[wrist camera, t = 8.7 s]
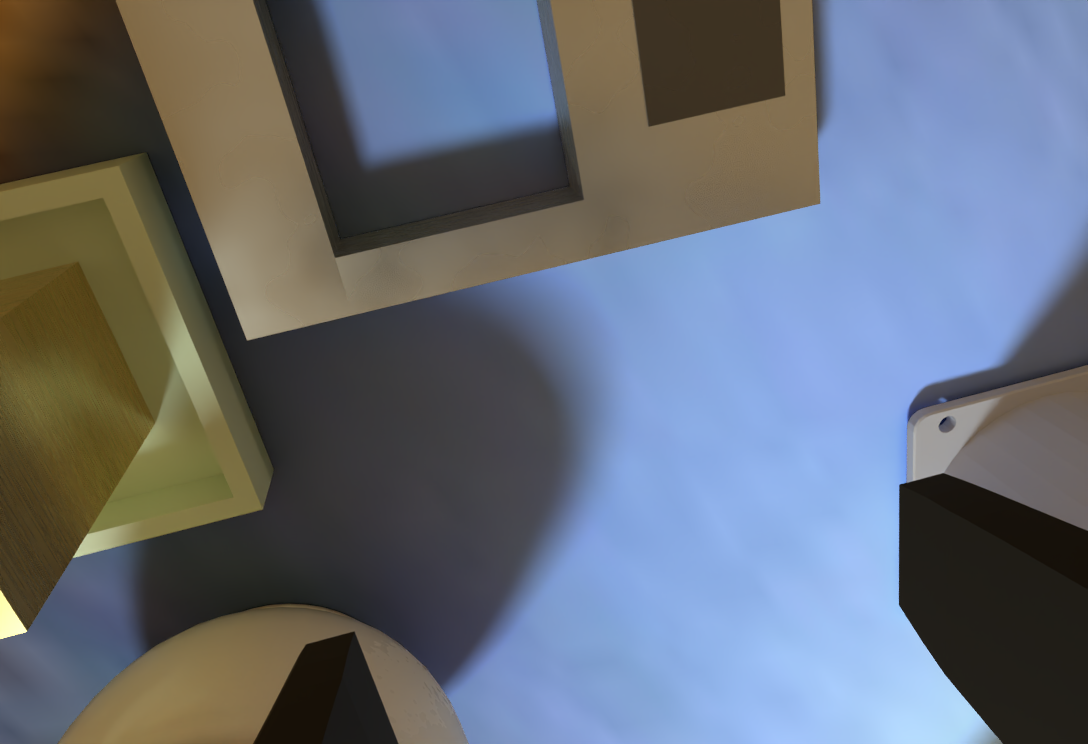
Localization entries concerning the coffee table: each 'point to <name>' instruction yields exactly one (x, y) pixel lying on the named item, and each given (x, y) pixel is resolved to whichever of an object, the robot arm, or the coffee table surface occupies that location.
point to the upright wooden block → (57, 431)
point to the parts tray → (146, 344)
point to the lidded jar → (253, 682)
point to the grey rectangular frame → (506, 227)
